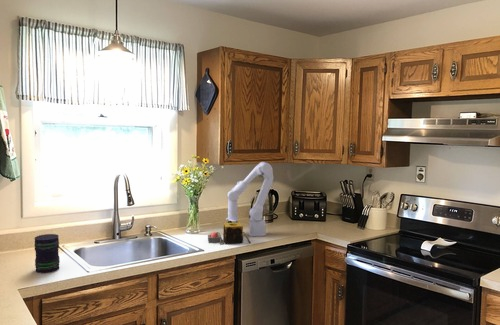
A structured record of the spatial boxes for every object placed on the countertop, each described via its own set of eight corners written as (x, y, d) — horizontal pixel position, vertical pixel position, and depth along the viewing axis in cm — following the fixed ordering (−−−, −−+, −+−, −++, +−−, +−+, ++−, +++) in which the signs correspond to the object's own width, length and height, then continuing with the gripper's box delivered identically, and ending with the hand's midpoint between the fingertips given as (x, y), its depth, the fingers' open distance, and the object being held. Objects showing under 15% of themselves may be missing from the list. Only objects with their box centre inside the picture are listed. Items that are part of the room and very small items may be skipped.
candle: (224, 244, 229) (224, 226, 229) (222, 239, 239) (222, 222, 238) (243, 243, 231) (243, 226, 231) (240, 239, 241) (240, 222, 240)
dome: (217, 240, 238) (217, 231, 238) (218, 241, 234) (218, 233, 234) (210, 240, 237) (210, 231, 237) (210, 242, 234) (210, 233, 233)
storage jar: (63, 265, 192) (62, 234, 190) (54, 273, 182) (53, 239, 181) (41, 265, 191) (40, 234, 190) (31, 273, 182) (29, 239, 180)
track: (243, 232, 256) (243, 231, 256) (251, 243, 232) (251, 242, 232) (215, 233, 253) (215, 232, 253) (219, 244, 229) (219, 243, 229)
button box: (219, 239, 240) (219, 234, 239) (220, 242, 233) (220, 237, 233) (207, 239, 238) (207, 234, 238) (208, 243, 232) (208, 237, 232)
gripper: (224, 208, 253) (224, 230, 255) (227, 213, 239) (227, 236, 240) (235, 208, 255) (235, 230, 256) (239, 213, 241) (239, 236, 242)
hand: (232, 233), depth 248 cm, fingers closed
